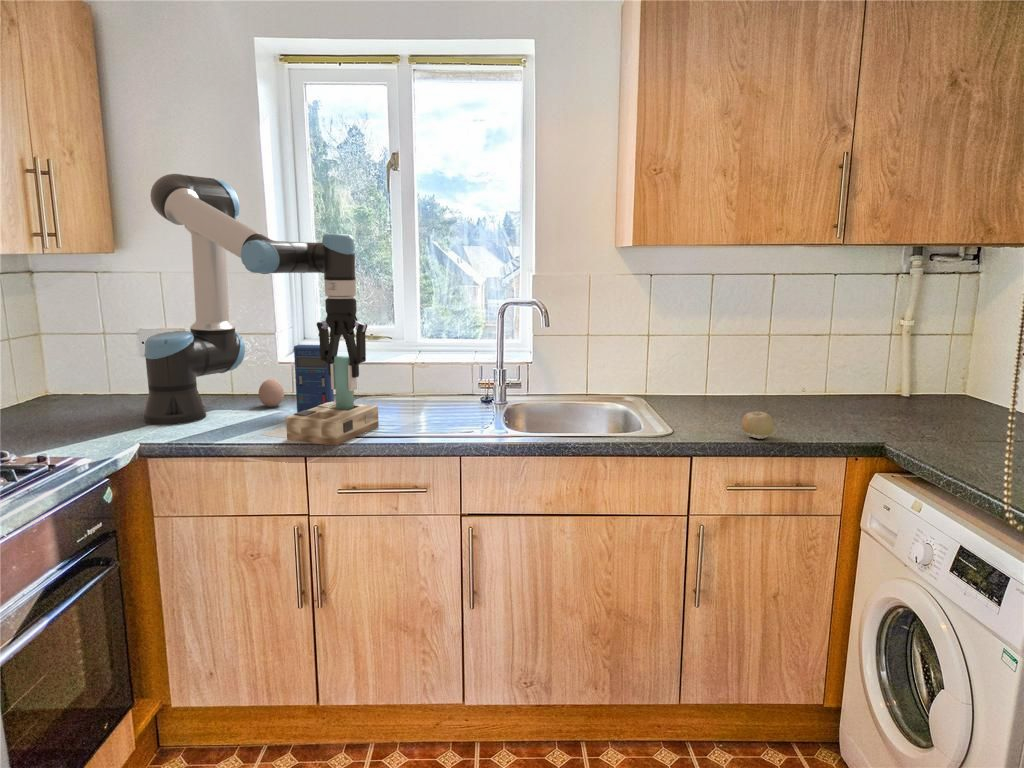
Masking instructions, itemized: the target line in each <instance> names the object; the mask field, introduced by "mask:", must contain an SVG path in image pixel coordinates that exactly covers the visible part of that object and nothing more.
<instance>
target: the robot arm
mask: <svg viewBox="0 0 1024 768" xmlns="http://www.w3.org/2000/svg"><path fill="white" fill-rule="evenodd" d="M150 202H151V205H152V206H153V208H154V210H155V211H156V212H157V214H159V216H161V217H163V218H164V219H165V220H167V221H169V222H170V223H172V224H174V225H177V226H184V228H185V230H186V231H188V233H190V235H191V251H192V252H191V253H192V273H193V289H194V290H193V291H194V310H195V312H194V313H195V321H194V323H193V324H192V325H191V326H190V327H189V329H190V331H189V330H174V331H166V332H161V333H157V334H154V335H151V336H149V337H147V339H146V340H145V341H144V352H143V353H144V358H145V365H146V375H147V376H146V378H147V387H148V394H147V400H146V403H145V404H146V405H145V409H144V410H143V414H142V415H143V421H144V423H145V424H148V425H153V426H155V425H156V426H172V425H182V424H183V425H184V424H187V423H193V422H198V421H201V420H203V419H205V418H206V417H207V410H206V406H205V405H204V403H203V401H202V398H201V395H200V393H199V391H198V384H197V378H198V377H204V376H209V375H215V374H225V373H226V372H229V371H234V370H235V369H237V368H238V367H239V366H241V364H242V363H243V360H244V358H245V353H246V345H245V340H243V339H242V336H241V334H239V333H238V332H236V326H235V325H234V323H232V322H230V313H229V311H230V310H229V292H228V269H227V267H228V265H227V251H228V252H230V253H231V254H233V255H235V256H236V257H238V258H240V259H241V263H242V264H243V266H244V268H245V269H246V270H248V272H250V273H254V274H262V275H268V274H306V273H307V274H309V273H311V274H316V273H317V274H319V273H320V274H323V276H324V277H323V278H324V296H325V297H327V298H325V301H324V304H325V305H324V306H325V313H326V317H325V320H322V321H319V322H318V321H317V322H316V327H317V330H318V336H319V337H318V338H319V345H320V356H321V360H322V361H326V362H327V363H328V374H329V376H331V389H333V390H335V365H334V357H335V356H338V352H339V346H340V341H341V340H340V339H341V337H343V340H344V342H345V345H346V346H345V347H346V350H347V356H349V360H350V364H349V365H348V388H349V391H353V392H354V391H356V390H358V379H357V378H359V377H360V367H359V365H360V364H362V363H365V362H366V359H367V358H366V357H367V353H366V352H367V351H366V348H367V347H366V345H367V343H366V333H367V328H368V324H367V323H362V322H360V321H359V320H358V317H357V311H358V310H357V299H356V296H357V284H356V283H357V282H356V249H355V240H354V237H353V236H352V235H351V234H345V233H344V234H343V233H341V234H340V233H325V234H324V235H323V236H322V241H321V242H306V241H305V242H304V241H301V242H300V241H280V240H273V239H272V238H271V239H270V238H269V237H267V236H266V235H264V234H262V233H260V232H258V231H257V230H256V229H253V228H251V227H249V226H248V225H246V224H244V223H242V222H241V221H239V220H237V219H238V216H239V214H240V210H241V209H240V207H241V206H240V200H239V197H238V194H237V192H236V191H235V190H234V188H232V186H231V185H230V184H229V183H227V182H225V181H224V180H220V179H216V178H214V177H213V178H211V177H205V176H204V177H202V176H197V175H196V176H193V175H186V174H181V173H168V174H165V175H162V176H161V177H159V178H158V179H157V180H156V181H155V182H154V184H153V185H152V187H151V190H150ZM354 329H355V330H354ZM329 330H330V331H329ZM355 332H356V333H355ZM355 334H356V335H355Z"/></svg>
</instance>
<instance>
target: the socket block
mask: <svg viewBox="0 0 1024 768" xmlns="http://www.w3.org/2000/svg"><path fill="white" fill-rule="evenodd" d="M285 422H286V423H285V424H286V426H285V428H287V438H286V440H287V441H293V442H302V443H309V444H311V443H312V444H317V445H319V444H320V445H326V446H334V447H335V446H336V447H338V446H340V445H342V444H344V443H346V442H348V441H351V440H354V439H356V438H357V436H358V435H360V434H362V433H364V434H366V433H368V432H370V431H373V430H375V429H377V428H379V406H378V405H373V404H361V403H354V409H352V410H349V411H345V410H336V401H334V402H329V403H325V404H322V405H319V406H317V407H315V408H312V409H309V410H304V411H301V412H298V413H297V412H296V413H293V414H291V415H288V416H286V417H285ZM365 432H366V433H365ZM362 435H363V434H362ZM360 436H361V435H360ZM358 437H359V436H358Z"/></svg>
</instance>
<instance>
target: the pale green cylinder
mask: <svg viewBox="0 0 1024 768" xmlns="http://www.w3.org/2000/svg"><path fill="white" fill-rule="evenodd" d="M349 364H350V360H349V355H337V356H335V357H334V365H335V389H334V390H335V402H336V410H345V411H349V410H352V409H354V404H355V403H354V390H353V391H349V388H348V365H349Z"/></svg>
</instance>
